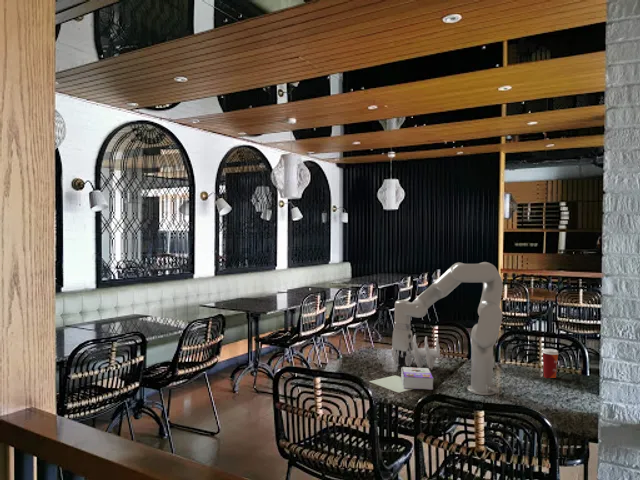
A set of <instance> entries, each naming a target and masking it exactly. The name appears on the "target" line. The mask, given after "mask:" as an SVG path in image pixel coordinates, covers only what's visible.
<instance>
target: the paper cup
mask: <svg viewBox="0 0 640 480" xmlns="http://www.w3.org/2000/svg"><path fill="white" fill-rule="evenodd" d="M541 353H542V362H543V363H542V366H543V377H544V378H545V379H548V378H556V379H557V370H558V361H559V360H558V359H559V350H557V349H554V348H543V349H542V351H541Z"/></svg>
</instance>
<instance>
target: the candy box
mask: <svg viewBox="0 0 640 480" xmlns="http://www.w3.org/2000/svg"><path fill="white" fill-rule="evenodd" d="M400 368H401V369H400V375H401V376H400V377H401V379H402V383H403V388H408V389H412V390H430V391H431V390H434V376H433V374H432V372H431V369H430V368H429V367H421V368H420V367H412V366H410V367H409V366H400Z"/></svg>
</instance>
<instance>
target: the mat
mask: <svg viewBox="0 0 640 480" xmlns="http://www.w3.org/2000/svg"><path fill="white" fill-rule="evenodd" d="M368 383H371V384H374V385H376V386H378V387H382V388H383V389H387V390H389V391H392V392H395V393H397V394H401V393H405V392H408V391H412V390H413V389H408V388H403V383H402V379H401V376H398V375H391V376H385V377H381V378H377V379H375V380H374V379H373V380H369V381H368Z"/></svg>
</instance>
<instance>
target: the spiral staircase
mask: <svg viewBox="0 0 640 480" xmlns="http://www.w3.org/2000/svg"><path fill="white" fill-rule="evenodd" d="M440 355H441V347H440V344H439V336H438V337H436V339H435V348H429V344H428V336H425V337H424V347H418V343H417V336H416V334H414V335H413V350H412V351H411V354H409V355H407V356H406V357H405V367H411V365H412V363H413V358H414V362H415V365H416V366H417V367H416V368H424V367H423V366H424V362H425V361H426V364H427V367H428V368H429V369H430V371H433V368H435V362H436V361H437V358H440ZM391 357H392V360H393V363H394V365H397V366H400V365H398V356H397V353H396V351H394V350H393V347H392V346H391Z"/></svg>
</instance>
